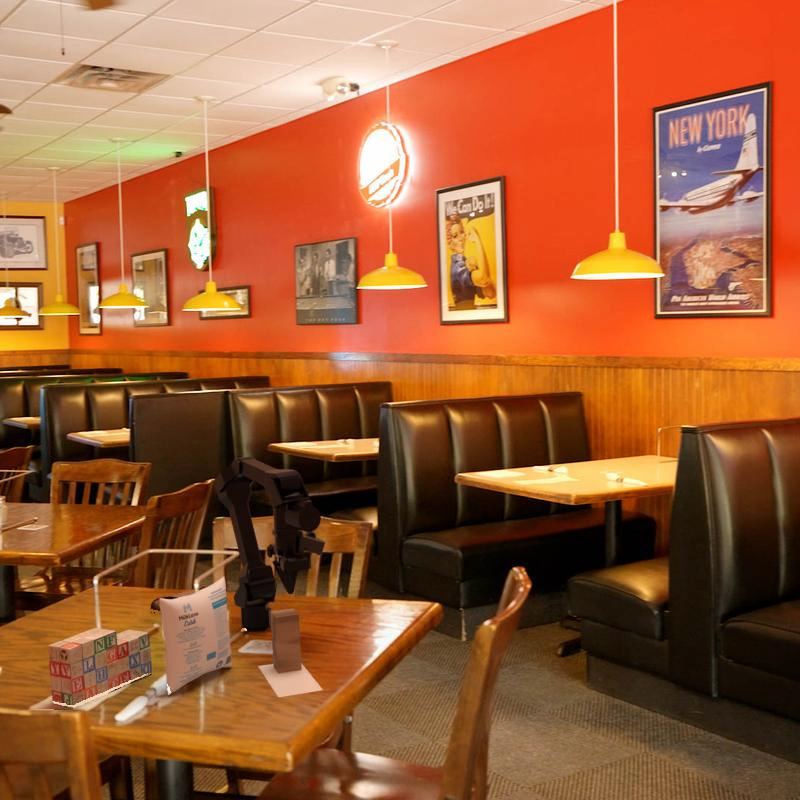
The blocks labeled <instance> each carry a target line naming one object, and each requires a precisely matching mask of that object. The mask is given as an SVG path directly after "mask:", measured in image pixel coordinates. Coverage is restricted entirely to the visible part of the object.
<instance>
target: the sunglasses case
mask: <svg viewBox="0 0 800 800" xmlns="http://www.w3.org/2000/svg"><path fill="white" fill-rule="evenodd" d="M198 588H199V590H202V589H204V588H207V587H206V586H200V587H198ZM193 591H194V589H190V590H186V591H182V592H178V593H175V594H172V595H167V596H161V597H158V598H155V599H154V600H152V602H151V603H150V610H151V609H153V610H158V611H161V609H160V600H159V599H160V598H163V599H176V598H179V597H183V596H188V595H191V594H193Z"/></svg>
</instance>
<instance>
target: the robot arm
mask: <svg viewBox="0 0 800 800" xmlns="http://www.w3.org/2000/svg"><path fill="white" fill-rule="evenodd" d="M213 481H214V482H213V487H214V490H215V492H216V495H217V497H218V500H219V502H220V503H221V504H222V505H223V506H224V507H225V508H226V509H227V510H228V512H229V517H230V520H231V526H232V529H233V533H234V538H235V541H236V546H237V550H238V554H239V560H240V562H241V569H240V572H239V576H238V585H239V586H238V587H237V590H236V591H235V594H234V595H233V601H234V605H235V606H237V607H239V608H240V615H241V617H240V618H241V628H240V629H239V631H240V630H241V629H242V628H246V629H247V632H246V633H265V632H267V631H268V630H269V628H271V611H272V608H271V607H270V603H274V602H275V599H276V594H277V580H276V577H275V576H274V575H275V574H274V570H273V567H272V565H271V564H268V565H267V564H266V563H265V562H264V561H263V559H262V556H261V551H260V547H259V544H258V540H257V536H256V531H255V528H254V524H253V520H252V516H251V512H250V506H249V501H250V499H251V495H252V485H253V483H254V482H255V483H258V484H259V485H262V486H263V487H264V491H265V493H266V494H268V495H269V496H270V497H271V498H272V499H270V500H269V502H268V505H269V506H272V511H273V514H272V516H273V529H272V530H271V531H272V535H273V536H274V543H273V542H272V543H270V544H269V545H268V546H267V547H266V554H267V557H268V558H273V556H275V560H273V561H271V562H272V564H273V566H274V568H275V570H276V573H277V575H278V576H279V578H280V582H282V585H283V587H284V589H285V591H286V593H287V594H288V595H293V594H294V593H295V588H296V582H297V580H298V579H297V578H298V574H299V573H300V571H305V570H310V569H312V560H311V559H310V558H309V557H308V556H307V555H305V552H309V553H313V554H316V555H318V556H323V552H324V549H325V545H326V542H325V540H323V539H321V538H319V537H317V534H316V533H315V532H314V531H315V530H317V529H318V528H319V526H320V524H321V521H322V520H321V518H322V515H321V513H320V510H319V509H318V508H317V507H315V506H313V501H312V500H311V497H310V495H309V494H310V492H309V490H308V488H307V486H306V484H305V483H304V480H303V478H302V476H301V475H300V473H299V472H298V470H295V469H288V468H287V469H278V468H275V467H273V466H270V465H269V464H267V463H264V462H262V461H259V460H257V459H256V458H255V457H253V456H244V457H237V458H234V460H233V461H232V462H231V464H230V465H228V466H227V467H225V468H224V469H222V470H220V471H219V473H218V475H217V476H216V478H215V479H214V480H213ZM304 532H306V533H305V534H304Z"/></svg>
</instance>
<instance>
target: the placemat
mask: <svg viewBox="0 0 800 800" xmlns="http://www.w3.org/2000/svg"><path fill="white" fill-rule="evenodd" d="M301 665H302V670H298V671H291V672H285V673H279V674H278V672H277V671H276V669H275V668H274V666H273V663H270V664H264V665H258V666H257V667H258V669H259V670H260V672H261V673H262V675H263V676H264V678H265V679H266V681H267V682H268V685H269V686H270V687H271V689H272V690H273V692H274V693H275V694H276V696H277V697H278V698H283V697H290V696H296V695H302V694H309V693H313V692H321V691H323V688H322V686H320V684H319V683H318V682H317V681H316V679H315V678H314V677H313V676H312V674H311V673H310V671H308V669H307V668H306V667H305V665H303V663H302V662H301Z"/></svg>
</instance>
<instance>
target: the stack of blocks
mask: <svg viewBox="0 0 800 800" xmlns="http://www.w3.org/2000/svg"><path fill="white" fill-rule="evenodd" d="M150 643H151V640H150V633H149V632H146V631H141V630H133V629H127V630H124V631H122V632H119V633H117V630H113V629H104V628H98V627H94V628H91V629H89V630H86V631H83V632H80V633H78V634H74V636H70V637H68V638H66V639H62V640H60V641H56V642H54V643H51V644H48V655H49V657H48V658H49V660H48V666H49V674H50V684H51V701H55V702H59V703H66V704H67V705H75V704H76V703H79V702H81V701H83V700H86V699H88V698H90V697H93V696H95V695H97V694H100V693H103V692H105V691H107V690H109V689H111V688H113V687H116V686H119V685H120V684H122V683H125V682H128V681H129V680H133V679H135V678H137V677H141V676H142V675H144V674H147V673H148V674H149V673H152V674H153V669H152V668H153V667H152V647H151V644H150Z"/></svg>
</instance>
